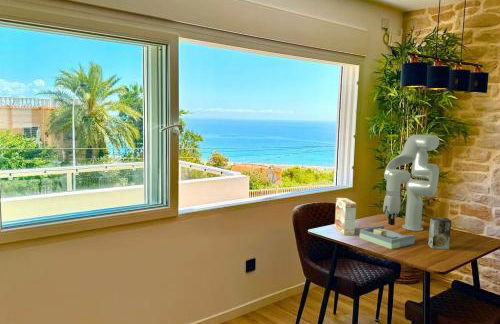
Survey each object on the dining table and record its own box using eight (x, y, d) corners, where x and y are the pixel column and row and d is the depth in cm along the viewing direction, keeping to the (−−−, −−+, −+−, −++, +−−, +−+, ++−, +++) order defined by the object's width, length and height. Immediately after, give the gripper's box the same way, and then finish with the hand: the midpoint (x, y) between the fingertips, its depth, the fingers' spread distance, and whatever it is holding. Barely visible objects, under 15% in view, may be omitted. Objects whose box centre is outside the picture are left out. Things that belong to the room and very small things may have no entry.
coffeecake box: (334, 228, 247) (335, 197, 244) (344, 228, 248) (346, 197, 246) (343, 235, 232) (345, 203, 230) (354, 235, 233) (356, 203, 231)
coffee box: (444, 245, 219) (447, 217, 217) (449, 249, 213) (452, 220, 211) (427, 244, 220) (430, 216, 218) (431, 248, 214) (434, 219, 212)
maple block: (379, 235, 225) (379, 228, 224) (386, 237, 221) (386, 230, 220) (373, 236, 222) (373, 229, 222) (380, 238, 218) (380, 231, 218)
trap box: (382, 233, 239) (382, 225, 239) (414, 243, 221) (415, 235, 220) (359, 237, 229) (360, 229, 228) (391, 249, 210) (391, 240, 210)
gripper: (395, 190, 230) (394, 220, 233) (378, 193, 222) (377, 225, 225) (407, 192, 224) (405, 224, 227) (390, 196, 216) (388, 228, 219)
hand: (391, 224), depth 226 cm, fingers closed
